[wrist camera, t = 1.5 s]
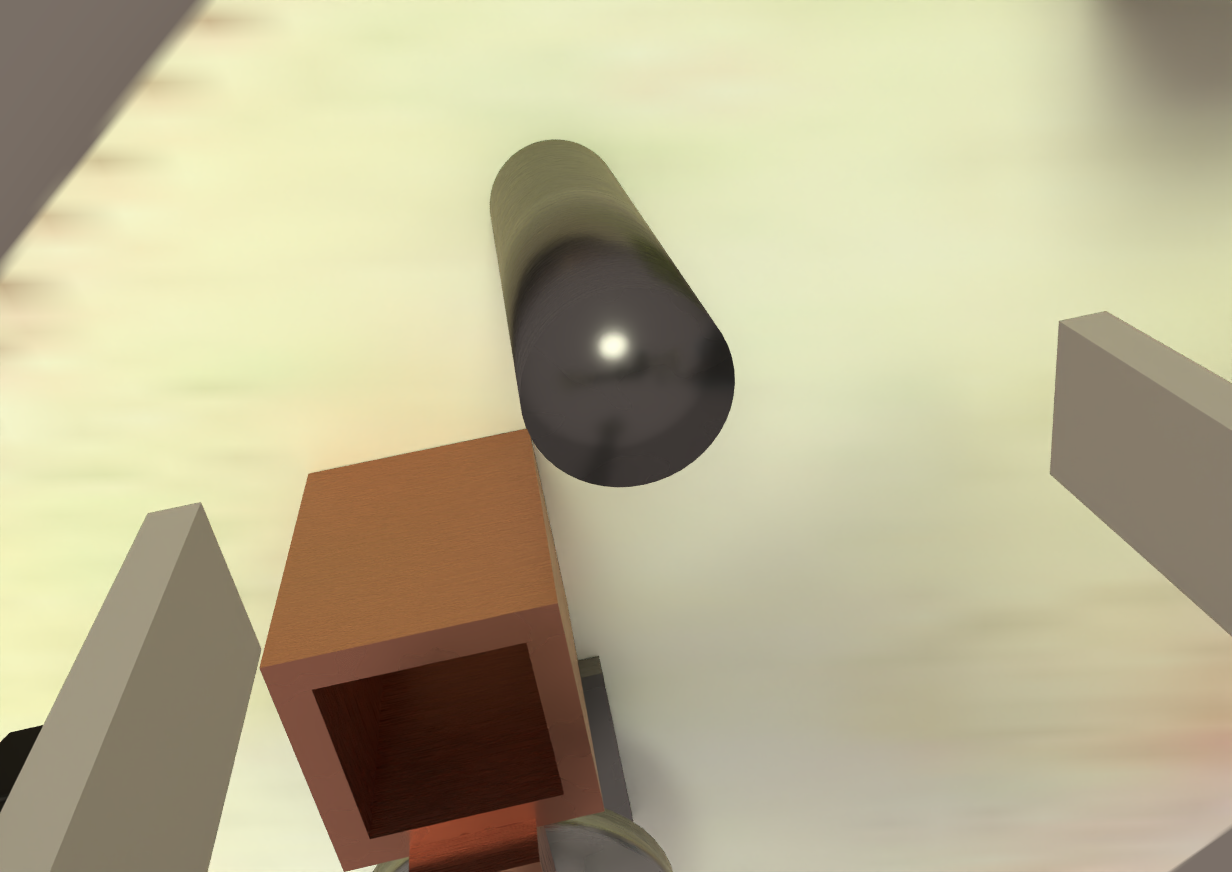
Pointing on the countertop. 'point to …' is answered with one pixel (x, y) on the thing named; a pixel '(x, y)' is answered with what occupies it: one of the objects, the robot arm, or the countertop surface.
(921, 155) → the countertop surface
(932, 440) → the countertop surface
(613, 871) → the post with bracket
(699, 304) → the dark grey cylinder
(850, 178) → the countertop surface
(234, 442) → the countertop surface
